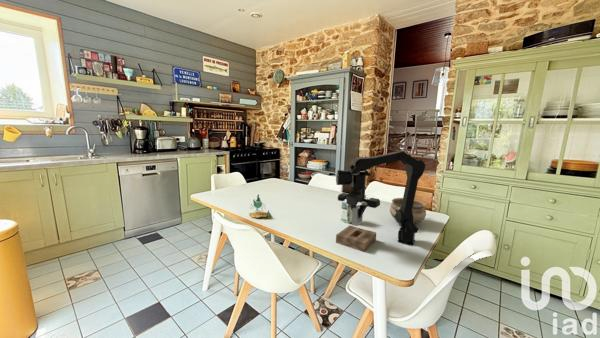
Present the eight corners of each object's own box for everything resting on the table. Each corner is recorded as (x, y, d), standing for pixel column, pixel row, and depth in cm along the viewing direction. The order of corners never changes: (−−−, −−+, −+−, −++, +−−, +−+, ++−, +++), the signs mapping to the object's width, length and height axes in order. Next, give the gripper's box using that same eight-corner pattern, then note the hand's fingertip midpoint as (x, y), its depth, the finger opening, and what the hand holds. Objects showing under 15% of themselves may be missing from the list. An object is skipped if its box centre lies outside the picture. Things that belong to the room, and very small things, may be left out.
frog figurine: (264, 222, 137) (261, 197, 135) (243, 218, 148) (241, 195, 146) (275, 217, 145) (273, 193, 143) (255, 214, 155) (252, 191, 154)
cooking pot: (418, 234, 122) (421, 211, 120) (382, 225, 134) (383, 204, 132) (429, 220, 141) (431, 200, 139) (396, 213, 153) (397, 194, 151)
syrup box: (340, 220, 140) (341, 196, 138) (346, 218, 144) (347, 195, 141) (348, 223, 136) (349, 199, 133) (354, 221, 139) (355, 197, 137)
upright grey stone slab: (362, 222, 114) (362, 206, 113) (356, 226, 110) (357, 209, 108) (357, 220, 116) (358, 204, 115) (351, 224, 111) (352, 208, 110)
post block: (375, 240, 115) (376, 232, 115) (364, 251, 105) (364, 243, 104) (349, 232, 124) (349, 225, 123) (335, 242, 113) (336, 234, 112)
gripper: (332, 185, 109) (331, 217, 112) (372, 191, 98) (369, 228, 100) (343, 181, 118) (342, 211, 120) (381, 186, 107) (379, 220, 109)
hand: (357, 217), depth 112 cm, fingers closed on upright grey stone slab, 2 cm apart
